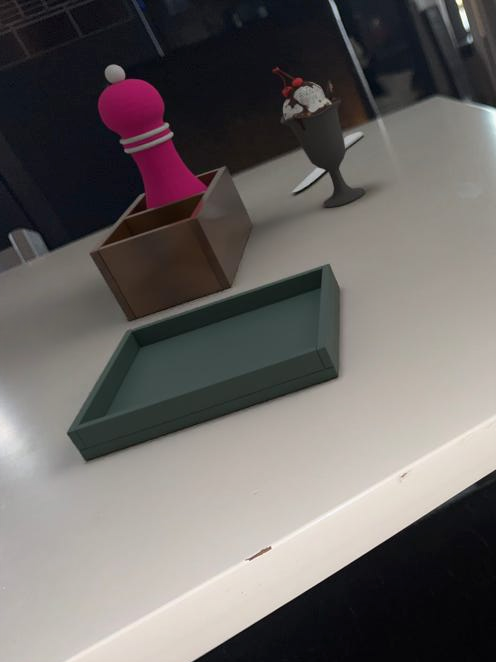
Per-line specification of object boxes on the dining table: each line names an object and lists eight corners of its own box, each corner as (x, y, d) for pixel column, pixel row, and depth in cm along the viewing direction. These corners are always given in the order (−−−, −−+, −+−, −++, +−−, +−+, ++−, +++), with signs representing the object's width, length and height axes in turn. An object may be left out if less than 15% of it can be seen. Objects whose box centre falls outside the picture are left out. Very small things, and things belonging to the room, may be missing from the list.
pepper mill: (198, 268, 79) (97, 71, 69) (159, 268, 83) (59, 82, 73) (249, 237, 83) (161, 48, 74) (209, 238, 88) (121, 59, 78)
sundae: (305, 214, 85) (248, 77, 78) (335, 190, 90) (284, 60, 83) (354, 207, 82) (299, 63, 75) (382, 182, 87) (333, 46, 80)
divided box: (128, 321, 71) (88, 253, 67) (169, 251, 88) (139, 194, 84) (231, 287, 71) (196, 217, 67) (252, 224, 88) (226, 165, 84)
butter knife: (366, 129, 113) (348, 134, 113) (304, 188, 93) (283, 193, 94) (367, 132, 113) (349, 137, 114) (306, 191, 93) (285, 196, 94)
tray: (85, 461, 49) (65, 433, 48) (140, 354, 63) (125, 330, 62) (338, 376, 49) (325, 346, 48) (339, 288, 63) (329, 263, 62)
